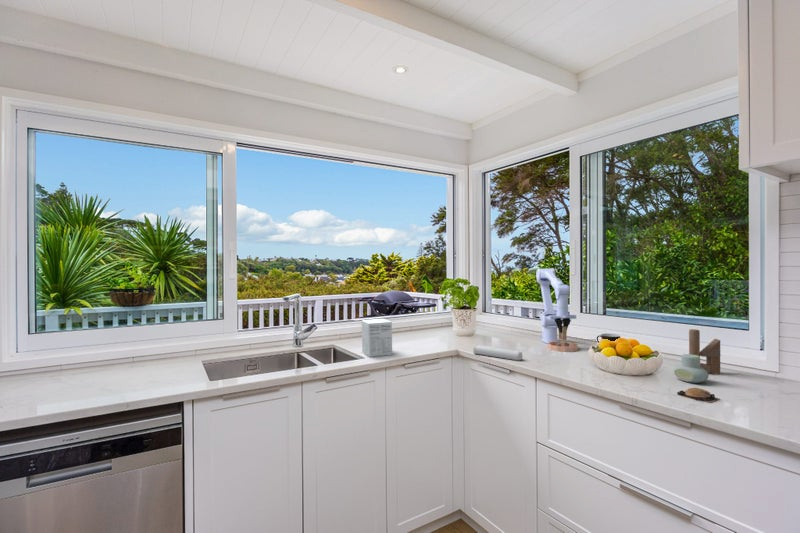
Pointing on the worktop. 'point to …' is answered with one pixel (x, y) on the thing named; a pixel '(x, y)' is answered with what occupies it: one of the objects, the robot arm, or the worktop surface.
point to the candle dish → (562, 346)
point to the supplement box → (376, 337)
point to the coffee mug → (609, 337)
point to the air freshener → (691, 369)
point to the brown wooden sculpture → (705, 352)
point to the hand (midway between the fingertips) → (562, 332)
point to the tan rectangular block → (563, 333)
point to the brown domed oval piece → (698, 395)
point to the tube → (498, 352)
